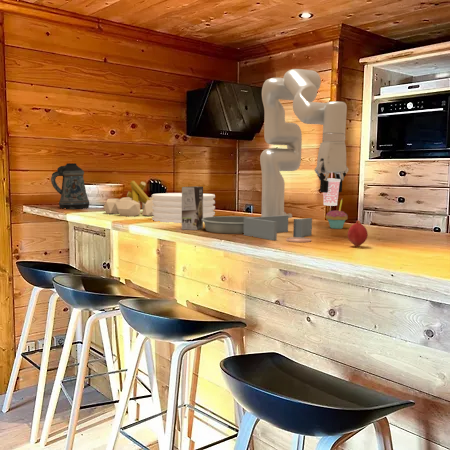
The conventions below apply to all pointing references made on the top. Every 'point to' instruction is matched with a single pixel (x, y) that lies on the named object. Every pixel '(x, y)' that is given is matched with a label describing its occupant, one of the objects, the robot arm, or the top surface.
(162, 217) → the plate stack
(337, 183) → the beverage cup
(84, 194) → the beer stein
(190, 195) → the coffee box
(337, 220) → the cupcake
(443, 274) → the top surface
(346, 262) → the top surface
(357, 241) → the onion
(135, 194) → the campfire
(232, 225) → the cake pan
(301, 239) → the coaster
